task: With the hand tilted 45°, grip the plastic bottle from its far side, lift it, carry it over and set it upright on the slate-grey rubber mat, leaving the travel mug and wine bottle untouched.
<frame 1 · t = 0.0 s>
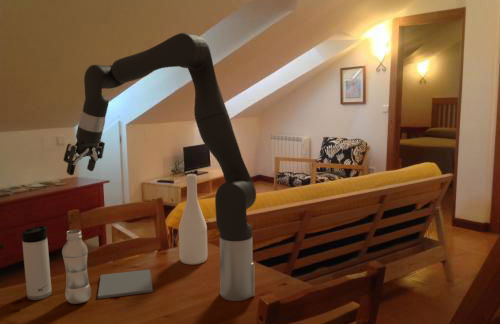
hand: (80, 172, 140), 31 cm above the table, tool tilted 20°, fingers open, 8 cm apart
wine bottle: (193, 260, 148), on the table
travel mug: (40, 295, 122), on the table
slate mat: (125, 284, 129), on the table
plastic bottle: (78, 301, 118), on the table
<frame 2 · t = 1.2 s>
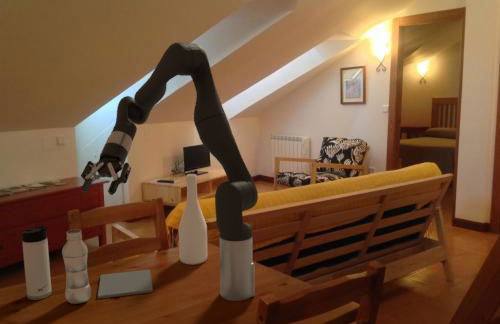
hand: (97, 192, 125), 28 cm above the table, tool tilted 45°, fingers open, 8 cm apart
nothing on the table moved.
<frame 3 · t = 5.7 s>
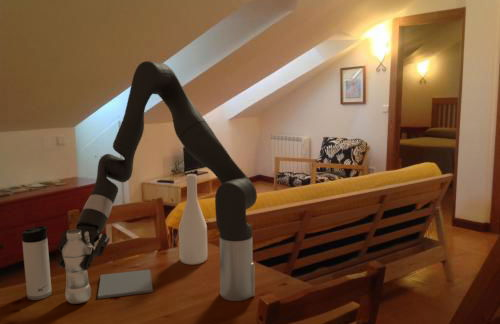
hand: (72, 267, 115), 10 cm above the table, tool tilted 45°, fingers closed on plastic bottle, 6 cm apart
plastic bottle: (78, 301, 118), on the table, touching gripper
everything else where it was.
when the fingers open (12 cm above the table, at t = 13.4 s): plastic bottle drops 1 cm, resting on slate mat.
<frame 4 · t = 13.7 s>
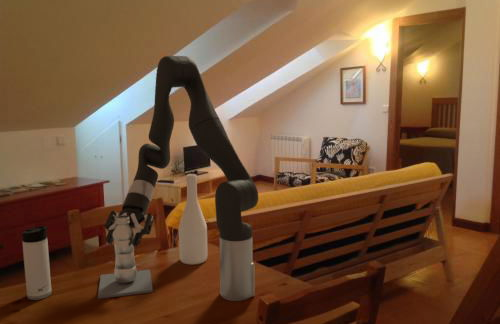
hand: (121, 244, 126), 13 cm above the table, tool tilted 45°, fingers open, 8 cm apart
plastic bottle: (126, 282, 129), point 1 cm above the table, touching slate mat
everything else where it was.
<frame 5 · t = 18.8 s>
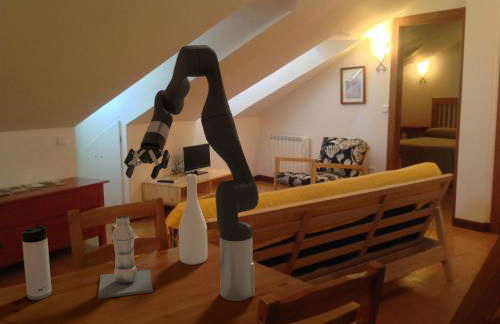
hand: (140, 177, 135), 31 cm above the table, tool tilted 45°, fingers open, 8 cm apart
nothing on the table moved.
at the end: plastic bottle inside the target area on the slate mat (0.2 cm from its centre), point 0.6 cm above the slate mat's base; plastic bottle tilted 0°; travel mug moved 0.2 cm from its start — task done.
